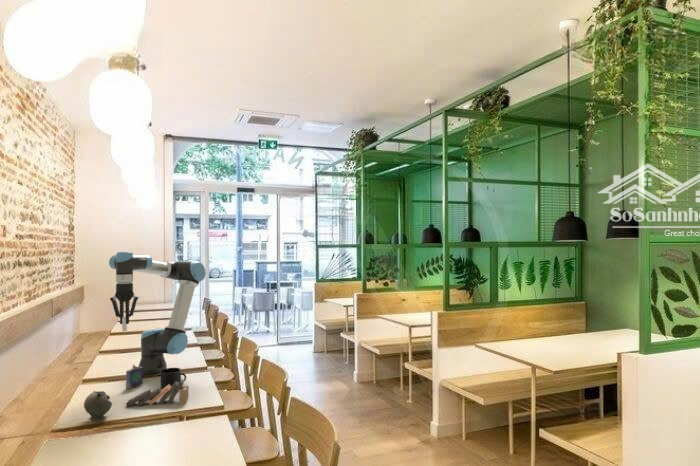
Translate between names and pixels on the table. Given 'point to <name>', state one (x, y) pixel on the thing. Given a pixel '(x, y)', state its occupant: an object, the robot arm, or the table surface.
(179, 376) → the mug
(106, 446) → the table surface
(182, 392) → the bookend
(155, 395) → the domino
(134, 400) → the domino
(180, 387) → the domino
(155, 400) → the domino
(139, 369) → the flask
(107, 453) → the table surface
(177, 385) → the domino
